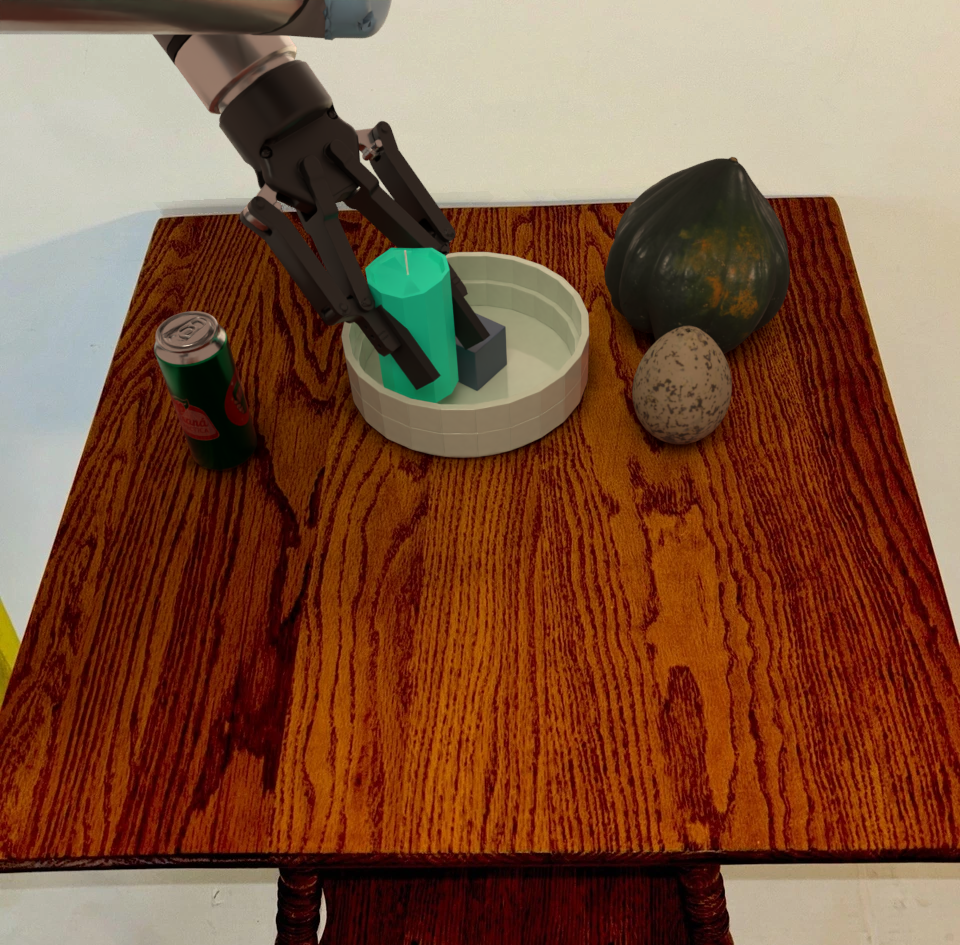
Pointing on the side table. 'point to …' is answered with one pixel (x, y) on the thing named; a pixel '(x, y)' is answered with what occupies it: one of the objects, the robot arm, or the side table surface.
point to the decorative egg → (682, 386)
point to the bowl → (514, 389)
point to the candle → (417, 315)
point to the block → (482, 356)
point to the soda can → (205, 390)
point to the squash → (700, 256)
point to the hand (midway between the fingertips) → (453, 361)
